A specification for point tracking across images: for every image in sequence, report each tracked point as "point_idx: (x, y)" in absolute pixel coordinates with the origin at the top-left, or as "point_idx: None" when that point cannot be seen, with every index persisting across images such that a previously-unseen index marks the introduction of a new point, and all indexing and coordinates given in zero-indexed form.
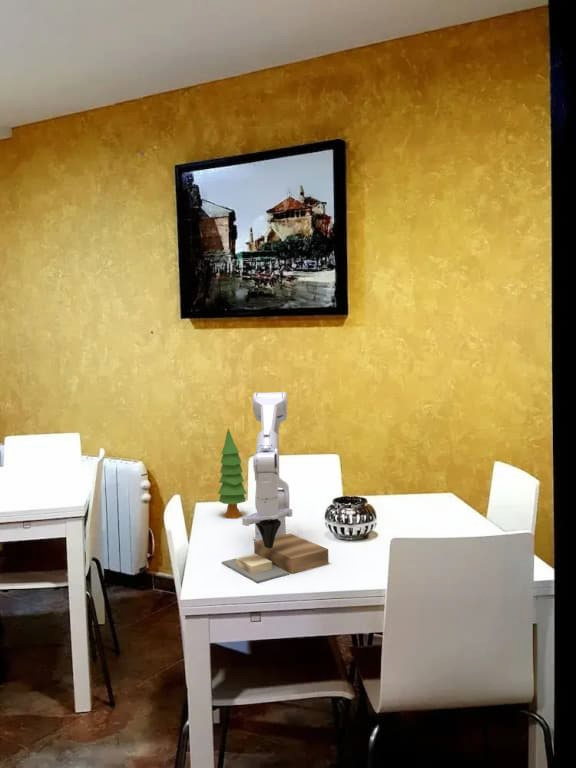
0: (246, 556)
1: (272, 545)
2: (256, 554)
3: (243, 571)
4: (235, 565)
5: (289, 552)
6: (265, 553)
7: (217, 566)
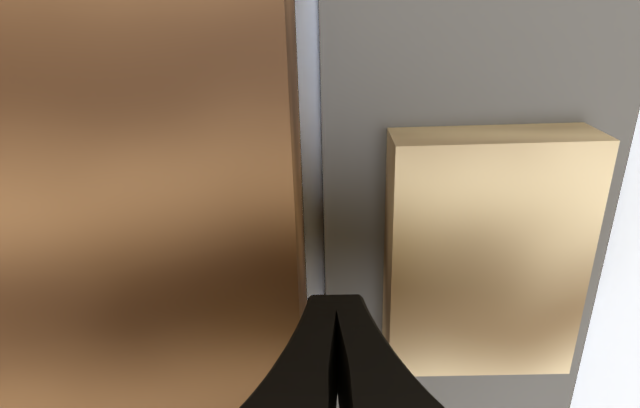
0: (483, 364)
1: (316, 303)
2: None
3: None
4: None
5: (189, 142)
6: None
7: (609, 404)
